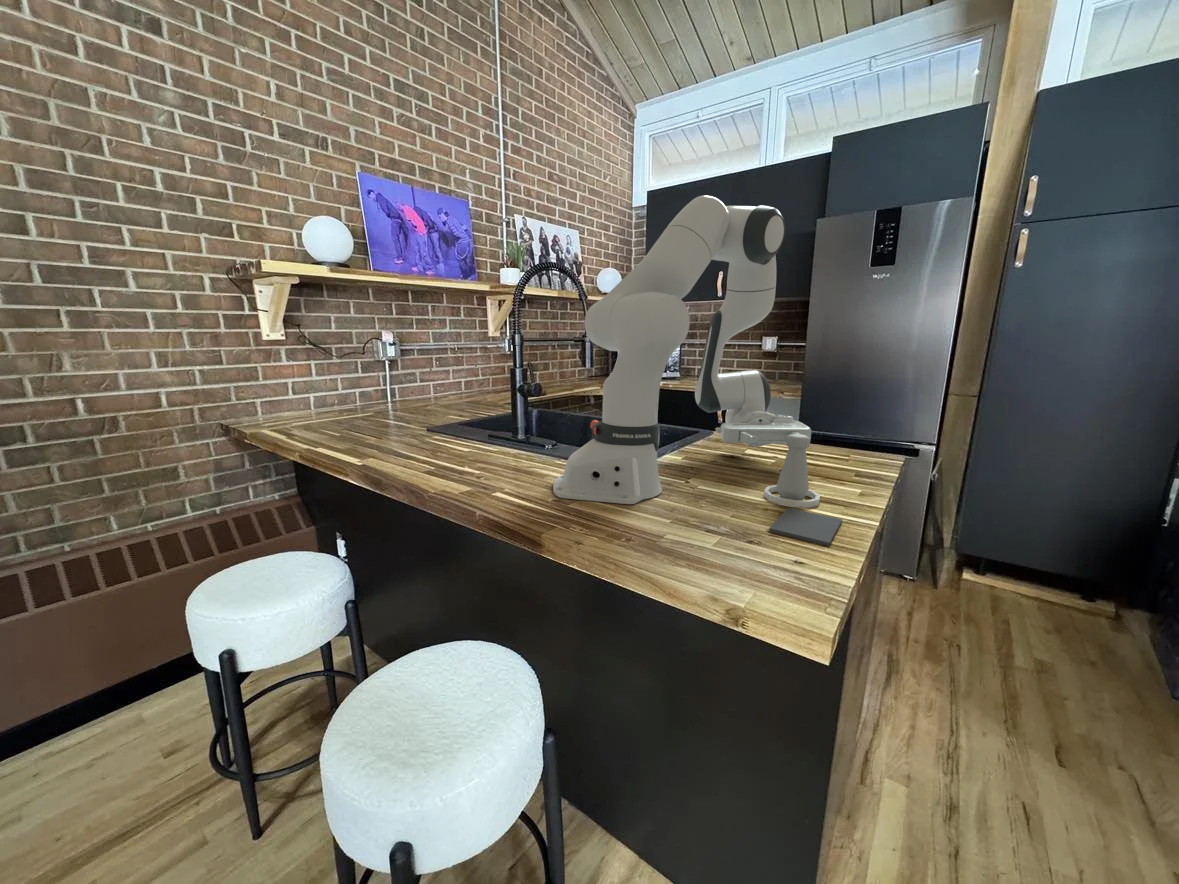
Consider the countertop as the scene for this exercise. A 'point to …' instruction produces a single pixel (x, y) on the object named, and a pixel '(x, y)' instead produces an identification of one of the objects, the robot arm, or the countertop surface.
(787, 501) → the ceramic ring
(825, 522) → the rubber mat
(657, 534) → the countertop surface
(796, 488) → the salt shaker
